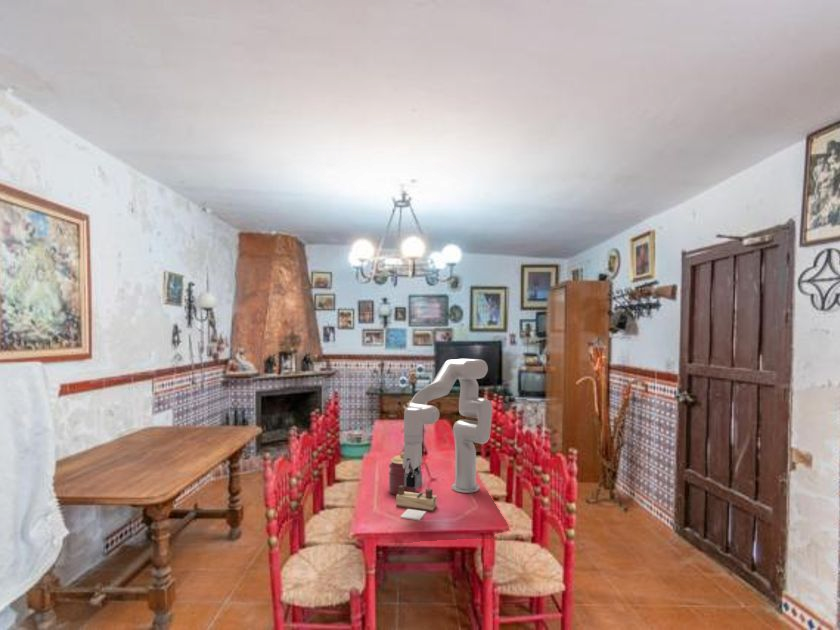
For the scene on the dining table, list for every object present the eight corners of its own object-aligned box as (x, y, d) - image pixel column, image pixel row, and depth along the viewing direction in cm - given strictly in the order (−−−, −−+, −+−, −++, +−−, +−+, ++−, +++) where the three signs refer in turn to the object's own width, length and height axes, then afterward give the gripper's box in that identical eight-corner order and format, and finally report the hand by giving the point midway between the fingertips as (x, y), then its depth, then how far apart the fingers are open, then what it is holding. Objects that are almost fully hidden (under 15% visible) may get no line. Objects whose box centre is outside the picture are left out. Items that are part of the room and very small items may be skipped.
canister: (413, 497, 205) (413, 457, 205) (385, 495, 207) (385, 455, 208) (419, 487, 217) (419, 449, 218) (392, 485, 220) (392, 447, 220)
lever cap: (408, 482, 189) (408, 467, 189) (421, 484, 187) (421, 469, 187) (404, 486, 184) (404, 471, 184) (417, 488, 182) (417, 473, 182)
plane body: (401, 501, 200) (401, 483, 200) (436, 506, 194) (436, 488, 195) (396, 506, 195) (396, 488, 195) (432, 511, 189) (432, 492, 189)
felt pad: (407, 510, 191) (407, 508, 191) (426, 512, 188) (426, 511, 188) (400, 517, 183) (400, 516, 183) (419, 520, 180) (419, 519, 180)
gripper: (412, 433, 195) (411, 477, 195) (396, 442, 179) (395, 490, 179) (429, 434, 193) (428, 479, 192) (414, 444, 177) (414, 492, 176)
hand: (413, 484), depth 186 cm, fingers closed on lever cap, 5 cm apart
